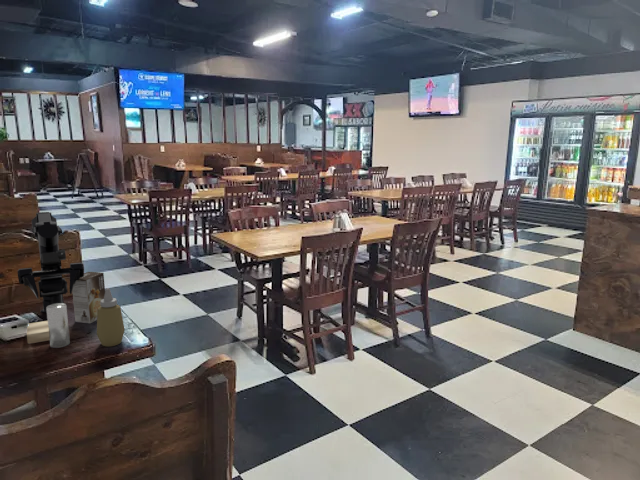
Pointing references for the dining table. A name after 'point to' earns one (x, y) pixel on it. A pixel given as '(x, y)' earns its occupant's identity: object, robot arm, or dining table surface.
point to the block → (37, 332)
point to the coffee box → (88, 296)
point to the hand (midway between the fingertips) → (54, 295)
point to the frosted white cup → (58, 325)
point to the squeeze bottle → (109, 321)
